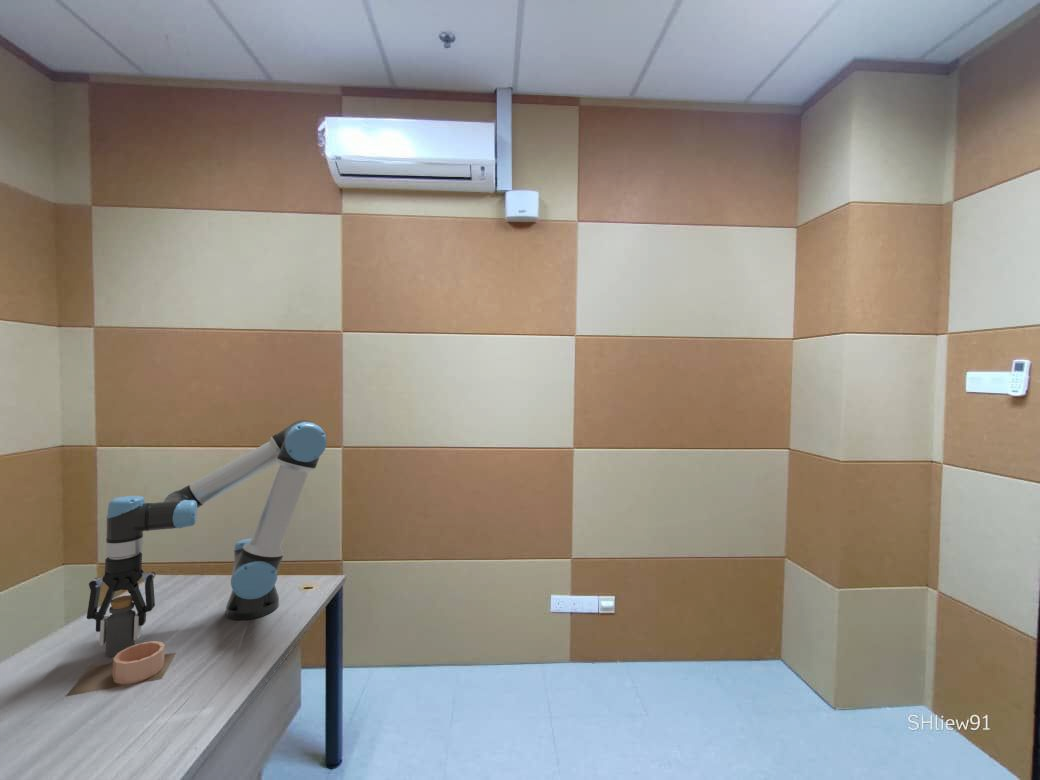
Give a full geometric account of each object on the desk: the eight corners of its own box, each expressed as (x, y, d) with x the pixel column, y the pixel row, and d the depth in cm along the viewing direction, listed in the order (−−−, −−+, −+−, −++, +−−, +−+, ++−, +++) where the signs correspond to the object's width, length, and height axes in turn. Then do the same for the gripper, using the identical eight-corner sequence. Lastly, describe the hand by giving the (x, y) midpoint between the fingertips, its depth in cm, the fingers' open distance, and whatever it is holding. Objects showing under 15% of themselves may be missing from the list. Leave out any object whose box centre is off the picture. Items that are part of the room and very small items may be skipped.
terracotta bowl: (168, 657, 119) (169, 638, 119) (156, 679, 110) (156, 658, 110) (122, 665, 115) (123, 645, 115) (105, 688, 106) (106, 666, 106)
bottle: (117, 662, 118) (119, 605, 118) (99, 659, 119) (101, 602, 119) (139, 650, 124) (142, 595, 124) (122, 647, 125) (125, 593, 125)
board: (176, 656, 121) (176, 652, 122) (161, 682, 110) (161, 678, 110) (90, 670, 114) (90, 666, 114) (65, 700, 103) (65, 696, 103)
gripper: (172, 546, 129) (169, 626, 129) (84, 553, 121) (80, 639, 121) (163, 555, 122) (160, 640, 122) (69, 563, 114) (66, 654, 114)
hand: (120, 639), depth 121 cm, fingers open, 6 cm apart
